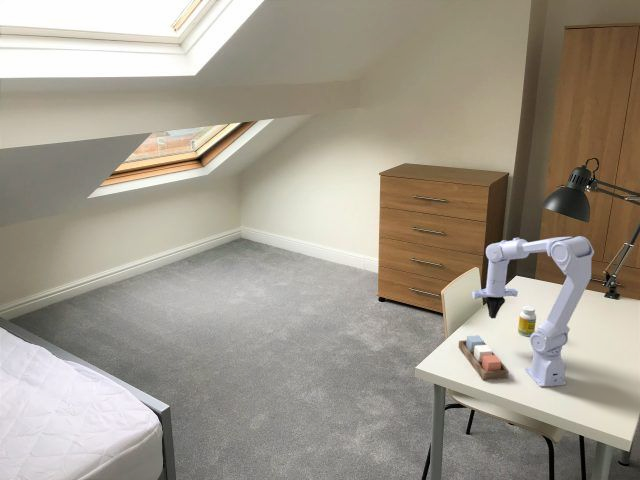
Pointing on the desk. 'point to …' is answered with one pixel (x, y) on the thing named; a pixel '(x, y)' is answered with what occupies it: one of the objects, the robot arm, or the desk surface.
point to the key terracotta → (491, 363)
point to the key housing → (477, 364)
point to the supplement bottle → (527, 321)
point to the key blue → (473, 342)
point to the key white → (481, 351)
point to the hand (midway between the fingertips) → (492, 317)
